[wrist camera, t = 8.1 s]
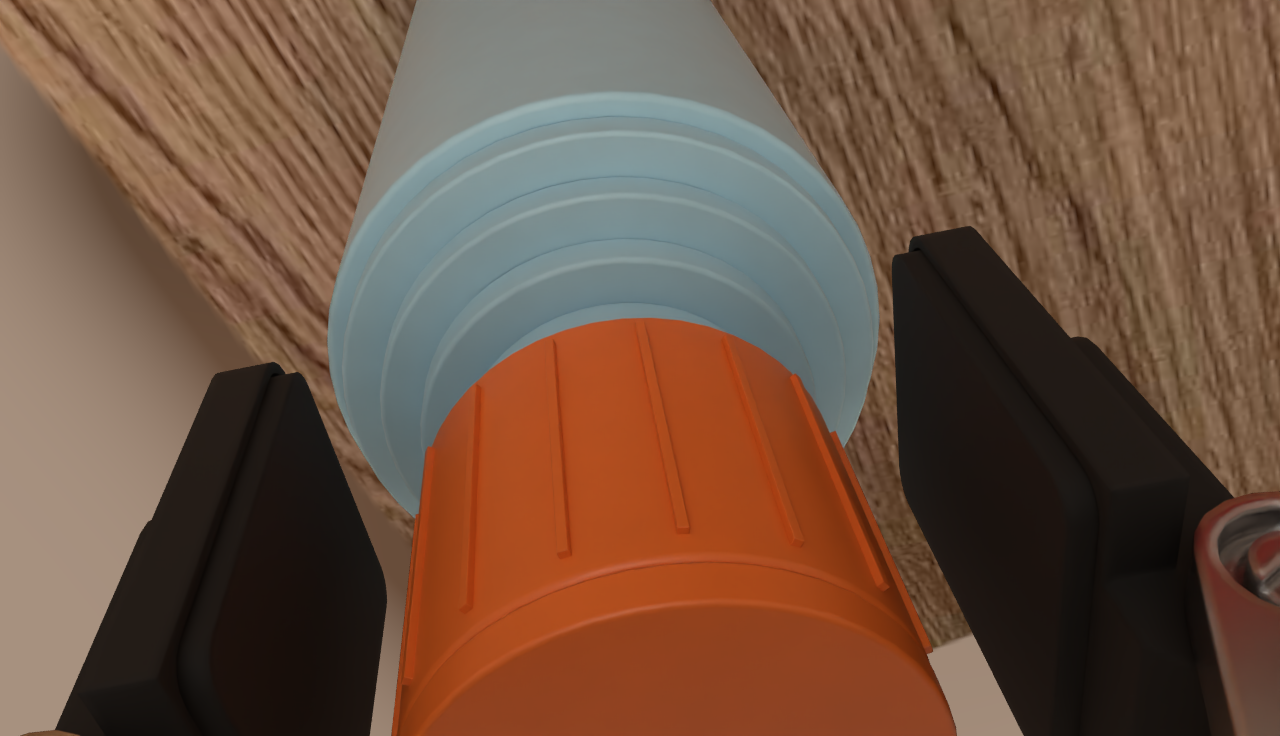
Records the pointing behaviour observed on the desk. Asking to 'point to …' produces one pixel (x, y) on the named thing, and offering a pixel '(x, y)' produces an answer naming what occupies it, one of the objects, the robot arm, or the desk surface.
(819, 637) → the cap
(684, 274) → the bottle
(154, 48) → the desk surface
